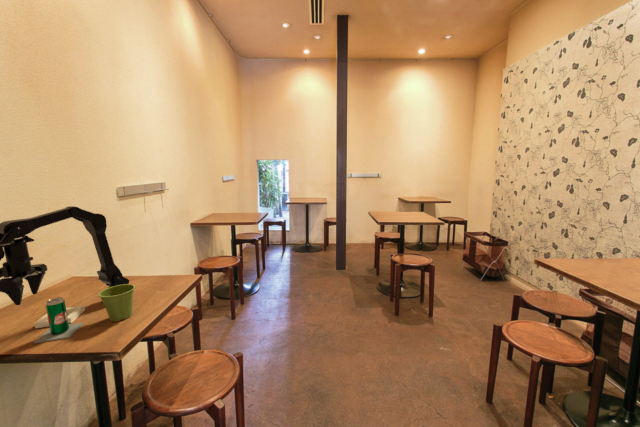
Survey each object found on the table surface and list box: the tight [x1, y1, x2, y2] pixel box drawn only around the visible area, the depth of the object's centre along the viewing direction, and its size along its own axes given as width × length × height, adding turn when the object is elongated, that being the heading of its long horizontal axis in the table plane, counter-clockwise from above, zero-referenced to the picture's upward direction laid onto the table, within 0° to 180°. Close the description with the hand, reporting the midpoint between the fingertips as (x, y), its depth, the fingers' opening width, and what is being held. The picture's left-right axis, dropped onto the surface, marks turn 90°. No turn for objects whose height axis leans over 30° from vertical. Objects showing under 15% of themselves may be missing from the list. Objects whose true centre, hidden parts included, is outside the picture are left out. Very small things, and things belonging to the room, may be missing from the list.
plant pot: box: [97, 283, 136, 322], centre depth 115 cm, size 12×12×11 cm
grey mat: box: [33, 322, 84, 344], centre depth 106 cm, size 10×10×1 cm
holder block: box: [34, 305, 86, 329], centre depth 117 cm, size 11×11×2 cm
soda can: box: [45, 296, 70, 335], centre depth 105 cm, size 5×5×12 cm
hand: (26, 299), depth 106 cm, fingers open, 9 cm apart
